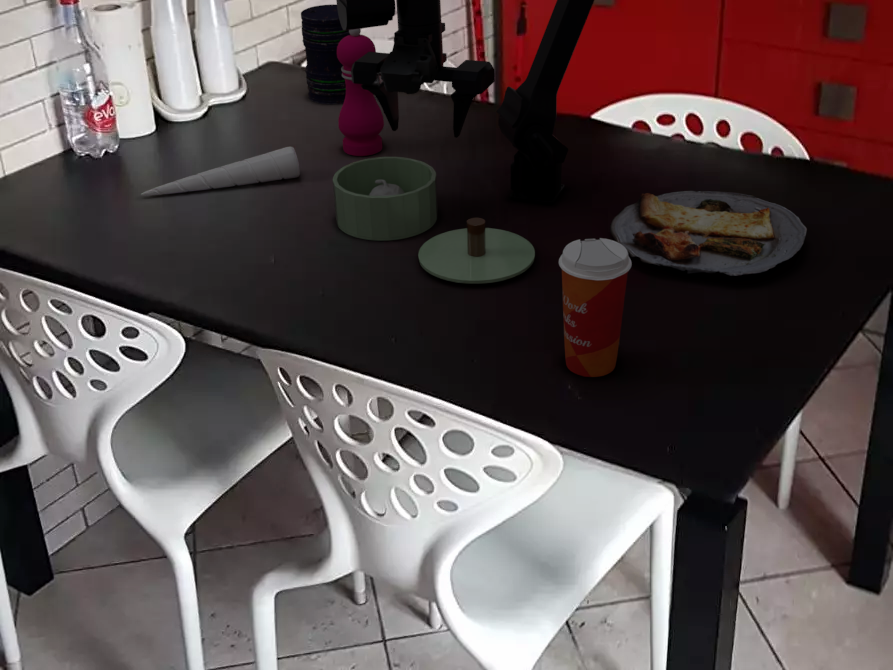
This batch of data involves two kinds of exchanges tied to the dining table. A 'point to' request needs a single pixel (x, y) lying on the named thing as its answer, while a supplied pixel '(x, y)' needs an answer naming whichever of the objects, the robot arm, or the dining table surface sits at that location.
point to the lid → (476, 254)
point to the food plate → (709, 232)
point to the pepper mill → (358, 101)
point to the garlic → (385, 189)
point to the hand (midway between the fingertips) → (425, 133)
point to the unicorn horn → (238, 173)
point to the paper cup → (593, 303)
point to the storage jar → (323, 54)
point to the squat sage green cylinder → (385, 198)
